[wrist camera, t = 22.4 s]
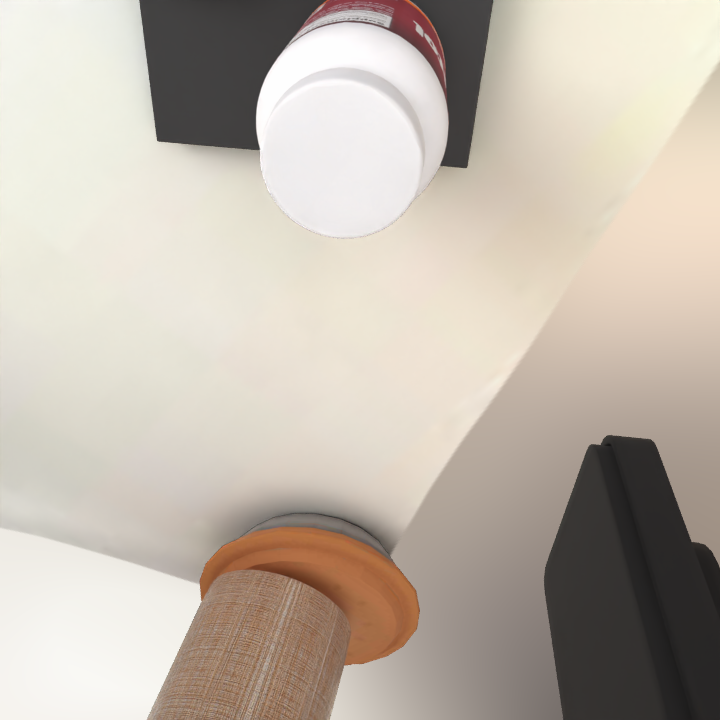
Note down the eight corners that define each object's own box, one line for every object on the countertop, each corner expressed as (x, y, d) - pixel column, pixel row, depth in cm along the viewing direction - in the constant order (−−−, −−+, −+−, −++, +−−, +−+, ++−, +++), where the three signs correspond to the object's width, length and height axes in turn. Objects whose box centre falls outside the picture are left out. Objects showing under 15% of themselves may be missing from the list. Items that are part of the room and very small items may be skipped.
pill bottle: (448, 137, 30) (453, 260, 21) (308, 148, 30) (256, 271, 22) (443, -27, 26) (446, 39, 17) (283, -9, 27) (209, 62, 18)
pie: (192, 487, 47) (168, 547, 43) (418, 494, 45) (415, 556, 41) (234, 618, 56) (217, 676, 52) (424, 628, 54) (421, 690, 50)
